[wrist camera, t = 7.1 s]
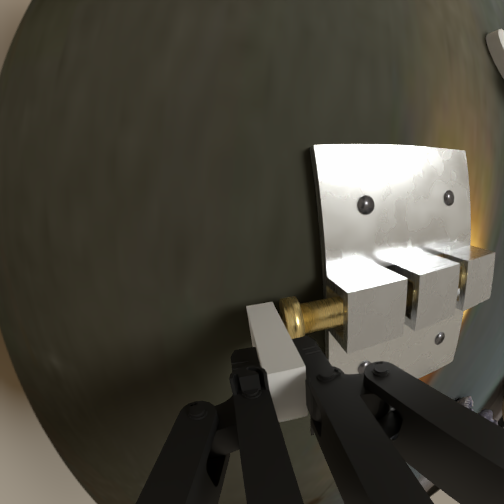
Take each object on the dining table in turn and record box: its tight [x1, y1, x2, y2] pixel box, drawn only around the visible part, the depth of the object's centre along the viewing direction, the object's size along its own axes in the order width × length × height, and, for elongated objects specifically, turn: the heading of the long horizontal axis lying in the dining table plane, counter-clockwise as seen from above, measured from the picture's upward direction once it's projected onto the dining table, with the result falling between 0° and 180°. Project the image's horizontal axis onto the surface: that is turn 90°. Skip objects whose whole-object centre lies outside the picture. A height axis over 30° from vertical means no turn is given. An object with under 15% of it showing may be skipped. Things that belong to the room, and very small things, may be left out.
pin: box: [279, 267, 462, 339], centre depth 16 cm, size 3×16×3 cm, turn 97°
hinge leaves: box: [310, 144, 495, 379], centre depth 16 cm, size 20×14×4 cm
